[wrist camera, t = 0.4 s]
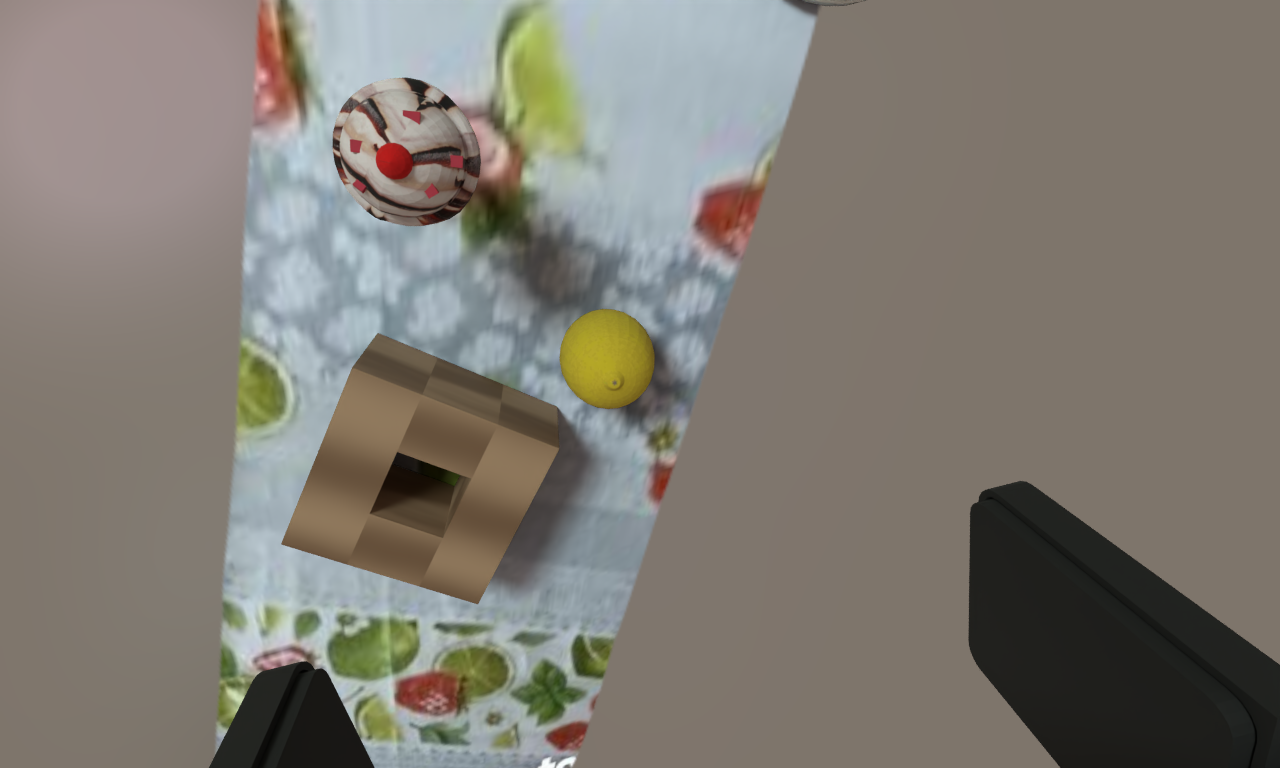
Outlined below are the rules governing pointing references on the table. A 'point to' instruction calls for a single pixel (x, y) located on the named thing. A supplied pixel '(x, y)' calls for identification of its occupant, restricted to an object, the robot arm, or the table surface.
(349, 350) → the table surface
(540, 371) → the table surface
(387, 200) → the ice cream cone
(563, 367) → the lemon
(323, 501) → the cone stand
